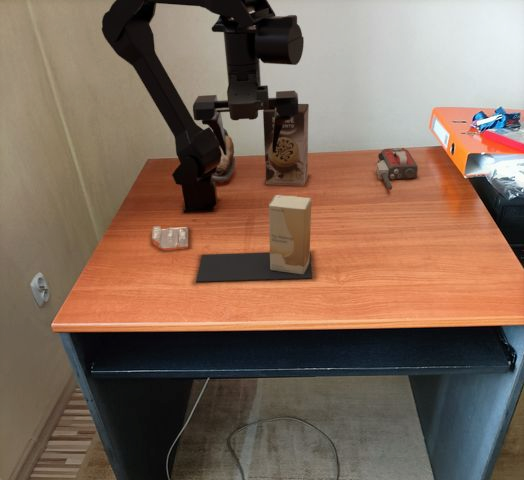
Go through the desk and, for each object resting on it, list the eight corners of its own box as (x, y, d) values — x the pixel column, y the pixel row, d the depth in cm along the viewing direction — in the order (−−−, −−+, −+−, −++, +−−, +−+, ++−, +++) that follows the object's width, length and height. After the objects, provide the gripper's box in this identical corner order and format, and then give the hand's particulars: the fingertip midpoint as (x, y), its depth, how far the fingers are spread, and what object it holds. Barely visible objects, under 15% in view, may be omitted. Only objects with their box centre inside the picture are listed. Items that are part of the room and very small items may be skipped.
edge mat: (196, 282, 89) (195, 281, 89) (202, 256, 96) (202, 254, 96) (312, 279, 88) (312, 277, 88) (310, 252, 95) (310, 250, 94)
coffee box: (265, 185, 119) (261, 111, 108) (271, 174, 124) (267, 102, 113) (304, 186, 117) (304, 111, 107) (308, 175, 122) (309, 102, 111)
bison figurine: (232, 186, 119) (228, 141, 113) (202, 187, 120) (196, 143, 114) (237, 166, 128) (234, 124, 122) (209, 167, 129) (204, 125, 123)
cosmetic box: (269, 271, 90) (266, 205, 82) (276, 258, 93) (273, 193, 85) (305, 275, 88) (305, 208, 80) (311, 262, 91) (312, 196, 83)
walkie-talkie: (369, 160, 127) (384, 194, 111) (371, 142, 124) (386, 174, 108) (405, 158, 126) (425, 192, 111) (408, 140, 123) (428, 172, 108)
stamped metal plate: (154, 232, 104) (153, 226, 103) (188, 229, 104) (187, 222, 103) (152, 252, 98) (150, 245, 97) (188, 248, 98) (187, 241, 97)
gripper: (182, 76, 83) (196, 171, 93) (298, 69, 82) (299, 167, 92) (191, 61, 91) (203, 150, 102) (297, 54, 90) (298, 145, 100)
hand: (249, 153), depth 99 cm, fingers open, 9 cm apart
